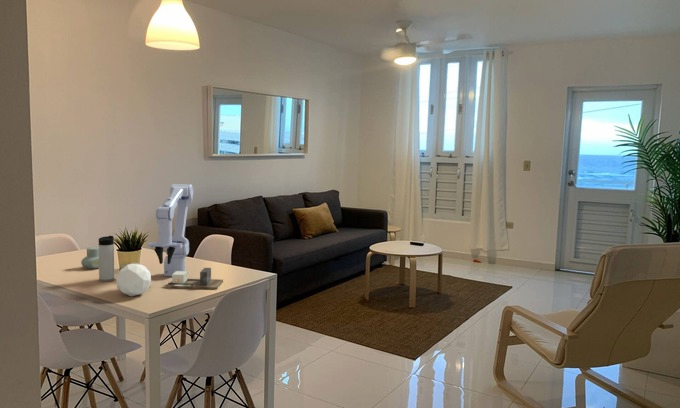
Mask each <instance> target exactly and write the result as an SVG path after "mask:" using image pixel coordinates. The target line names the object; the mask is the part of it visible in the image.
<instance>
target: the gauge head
mask: <svg viewBox="0 0 680 408" xmlns="http://www.w3.org/2000/svg"><path fill="white" fill-rule="evenodd" d="M187 272H188V271H186V270H185V271H176V272H175V273H173V274H172V276H171V277H172V278H171V279H172V280H171V282H172V283H185V282H186V281H187V279H188V273H187Z"/></svg>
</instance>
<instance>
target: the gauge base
mask: <svg viewBox="0 0 680 408" xmlns="http://www.w3.org/2000/svg"><path fill="white" fill-rule="evenodd" d="M223 282H224V279H219V278H218V279H217V278H214V279H213V278H212V268H211V267H203V268H202V269H201V270H200V272H199V278H187V281H186V282H185V283H172V281H170V282H168V283H167V285H166V286H165V287H166V288H165V289H181V290H182V289H184V290H185V289H186V290H215V289H217V290H218V289H219V288H220V287H221V285H222V284H223ZM218 287H219V288H218Z"/></svg>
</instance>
